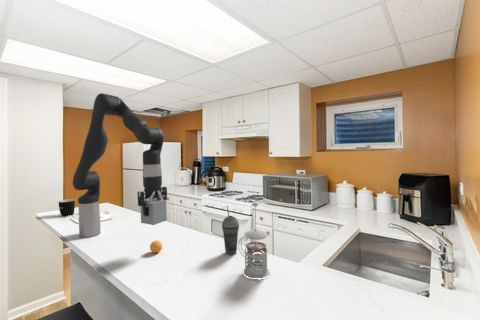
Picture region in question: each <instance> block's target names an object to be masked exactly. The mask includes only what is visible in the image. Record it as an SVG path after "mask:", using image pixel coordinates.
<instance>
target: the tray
mask: <svg viewBox="0 0 480 320" xmlns="http://www.w3.org/2000/svg"><path fill="white" fill-rule="evenodd" d="M74 216H75V217H76V218H75V217H72V218H70V220H71V221H73V222H75V223H76V224H78V225H79V214H77V215H74ZM111 216H112V217H114V215H112V214H110V212H109V211H107V209H105V211H102V212H100V218H102V219H100V222H103V221H106V220H112V217H111Z"/></svg>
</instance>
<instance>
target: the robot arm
mask: <svg viewBox="0 0 480 320" xmlns="http://www.w3.org/2000/svg"><path fill="white" fill-rule="evenodd" d="M93 102H94V103H93V107H92V115H91V119H90V123H89V124H90V125H89V128H88V132H87V134H86V138H85V141H84V145H83V149H82V153H81V156H80V158H79V163H78V164H77V167H76V170H75V172H74V174H73V177H72V186H73V188H74V189H75V191H83V190H85V191H86V190H87V191H86V192H85V193H84V194H83V195H80V196H79V197H78V198H77V205H78V215H79V224H78V233H79V236H80V238H92V237H96V236H99V235H100V234H101V221H100V213H101V212H100V196H101V179H100V174H99V173H98V171H96V170H91V169H92V167H93V165H95V163H97V162H98V161H99V160H100V159H101V158H102V157H103V155H104V154H105V153H106V149H107V145H108V143H109V142H108V141H109V138H108V135H107V132H106V130H105V127H104V119H105V116H106V115H107V116H116V117H119V118H121V120H122V123H123V125H124V126H125V128H127V129H128V130H129V131H130V132H132V133H133V134H134V136H135V138H136V139H137V141H138V142H139V143H140V144H144V145H150V147H149V149H147V150H146V149H145V150H144V151H143V152H142V185H143V188H144V189H143V190H142V191H137V206H138V207H141V206H142V207H143V215H144V216H149V207H148V205H149V203H150V202H151V200H152V199H160V200H166V201H167V200H168V189H167V188H168V187H167V186H162V185H163V180H162V179H163V177H162V174H163V173H162V172H163V171H162V163H161V160H162V159H161V154H162V149H163V144H164V142H165V136H164V132H163V130H162V129H161V128H158V127H152V126H151V127H150V126H149V125H148V123H147V122H146V120H144V119H143V118H141V117H140V116H138V115H137V113H134V111H133V110H132V109H130V107H129V106H128V105H127V104H126V103H125V102H124V101H123V99H122V98H120V97H119V96H116V95H112V94H108V93H102V92H101V93H98V94H97V95H96V97H95V99H94V101H93ZM145 203H146V204H145Z"/></svg>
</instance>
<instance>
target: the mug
mask: <svg viewBox="0 0 480 320" xmlns="http://www.w3.org/2000/svg"><path fill="white" fill-rule="evenodd" d="M75 201H76V200H75V199H71V198H69V199H63V200H59V201H58V210H59V214H60V216H61V217H69V216H68V215H71V216H73V215H74V213H75V209H76V205H75V203H76V202H75ZM72 214H73V215H72Z"/></svg>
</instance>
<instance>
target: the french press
mask: <svg viewBox="0 0 480 320" xmlns="http://www.w3.org/2000/svg"><path fill="white" fill-rule="evenodd" d="M258 206H259V204H258V202H253V203H252V207H254V220H255V221H254V222H255V225H254V226H255V227H254V228H253V229H249V230H247V231H246V232H244V234H243V235H244V236H242V237H241V238H240V239H239V240H238V242H237V247H241V249H240V248H238V250H239V253H240V255H242V257H244V264H245V265H244V266H245V267H244V269H243V270H244V274H245V275H246V276H248V277H250V278H263V277H266V276H268V275H269V273H270V274H271V271H270V270H269V269H268V250H267V248H266V247H267V244H265V243H263V242H261V241H260V240H264V239H266V238H267V236H268V233H267V232H266V231H264V230H262V229H259V228H257V219H256V218H257V216H256V215H257V212H256V210H257V207H258ZM243 240H244V241H245V242H246V241H248V240H255V241H250V242H247V243H246V244H245V249H244V250H243V247H242V244H243V243H242V242H243ZM257 240H258V241H257ZM241 251H242V252H241ZM269 271H270V272H269ZM269 276H270V275H269Z"/></svg>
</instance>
